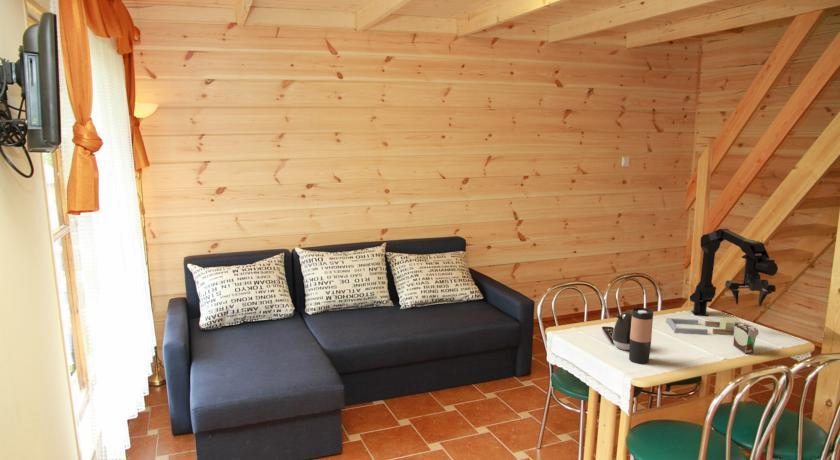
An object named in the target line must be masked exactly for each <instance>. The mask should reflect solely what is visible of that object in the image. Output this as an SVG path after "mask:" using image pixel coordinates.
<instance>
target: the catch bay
mask: <svg viewBox="0 0 840 460" xmlns="http://www.w3.org/2000/svg"><path fill="white" fill-rule="evenodd" d="M665 323H666V324H667V325H668V326H669V327H670V329H671V330H672V331H673V332H674V333H675V334H689V335H690V334H691V335H703V336H704V335H707V336H708V335H709V334H708V331H709V330H708V328H696V327H695V328H693V327H691V328H690V327H678V326H677V324H678V325H679V324H680V325H692V326H693V325H694V326H698V325H699V320H698V319H695V318H694V319H691V318H676V317H675V318H674V317H666V319H665Z"/></svg>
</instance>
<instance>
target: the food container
mask: <svg viewBox="0 0 840 460" xmlns="http://www.w3.org/2000/svg"><path fill="white" fill-rule="evenodd" d="M741 322H742V321H741ZM741 322H734V335H733V340H732V341H733V343H732V347H734V348H736V349H737V350H738V351H740V352H741V353H743V354H744V355H751V354H753V353H754V348H755V343H756V338H757V336H759V329H758V328H757V326H755V325H753V324H750V323H746V322H742V323H741Z"/></svg>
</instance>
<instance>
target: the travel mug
mask: <svg viewBox="0 0 840 460" xmlns="http://www.w3.org/2000/svg"><path fill="white" fill-rule="evenodd" d="M631 313H632V320H631V332H630V348H629V350H628V351H629V353H628V358H629V359H628V360H629V361H630V362H631V363H634V364H637V365H646V364H648V363H649V361H650V355H651V345H652V337H653V322H654V320H653V319H654V311H653V310H652V309H649V308H647V307H634V308H632V310H631Z"/></svg>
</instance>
